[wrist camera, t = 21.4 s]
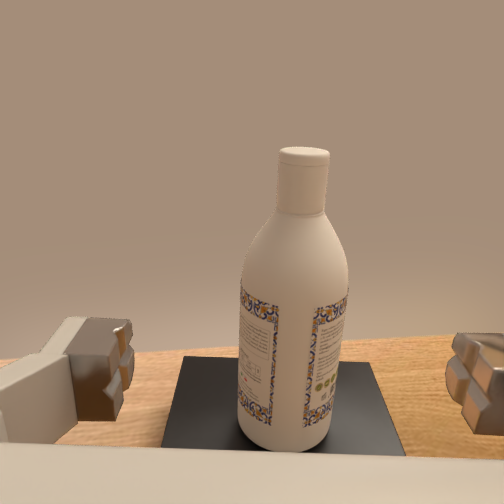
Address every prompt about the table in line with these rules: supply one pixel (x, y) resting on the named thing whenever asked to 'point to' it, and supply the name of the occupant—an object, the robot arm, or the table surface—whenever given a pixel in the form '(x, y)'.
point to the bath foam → (292, 312)
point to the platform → (233, 438)
